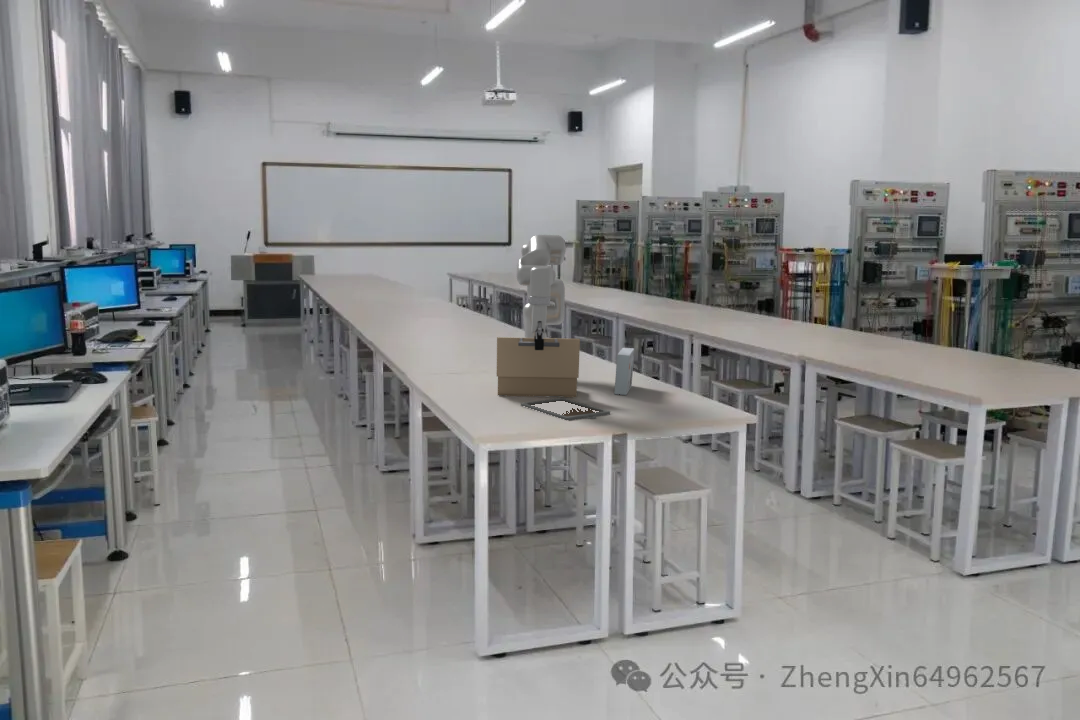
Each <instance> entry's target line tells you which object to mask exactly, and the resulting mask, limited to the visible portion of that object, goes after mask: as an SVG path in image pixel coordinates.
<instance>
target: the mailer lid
mask: <svg viewBox="0 0 1080 720" xmlns="http://www.w3.org/2000/svg"><path fill="white" fill-rule="evenodd" d="M543 339H544V350H535V342H534V338H525V337H515V336H514V337H511V336H510V337H507V336H506V337H504V336H502V337H501V336H498V337H496V377H498V376H499V377H556V378H577V379H579V376H580V374H579V373H580V372H579V371H580V349H581V347H580V346H581V345H580V344H581V338H567V337H566V338H563V337H562V338H561V337H560V338H559V337H552V338H551V337H547V338H543Z"/></svg>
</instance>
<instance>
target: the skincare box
mask: <svg viewBox="0 0 1080 720" xmlns="http://www.w3.org/2000/svg"><path fill="white" fill-rule="evenodd" d="M634 360H635V348H633V347H631V348H630V347H622V348H621V349H620V350H619V352H618V353H617V355H616V364H615V365H616V366H615V367H616V368H615V380H614V381H615V382H614V390H613V394H614V395H619V394H620V395H622V396H627V394H628V393H629V391H630V390H631V388H632V386H633V373H634Z"/></svg>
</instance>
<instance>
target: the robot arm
mask: <svg viewBox="0 0 1080 720" xmlns="http://www.w3.org/2000/svg"><path fill="white" fill-rule="evenodd" d="M566 248H567V247H566V242H565V239H564V237H563V236H562V235H558V234H536V235H534V236H532V237H531V238H530V239H529V241H528V243H525V244H523V245H522V247H521V257H520V258H519V260H517V261H518V262H517V265H516V281H517V283H518V284H519V285H521V286H526V292H527V293H526V295H527V298H528V300H529V302H527V303H526V304H525V305H524V307H523V309H522V310H523V311H522V315H523V323H524V324H523V325H524V338H534V342H535V350H544V339H543V338H548V336H547V332H546V327H547V325H548V326H552V325H554V326H559V325H561V324H562V323H563V322H564V319H565V299H566V298H565V297H566V295H565V293H566V292H565V290H566V288H565V284H564V281H563V280H562V279H559V278H556V276H557V275H556V271H555V269H554V268H553V267H552V266H559V265H561V264H563V262H564V260H565V254H566Z"/></svg>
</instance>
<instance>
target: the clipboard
mask: <svg viewBox="0 0 1080 720" xmlns="http://www.w3.org/2000/svg"><path fill="white" fill-rule="evenodd" d="M556 401H565V402H568V403H571V404H575V405H578V406H581V407H585V408H588V411H586V410H585V412H583V411H581V409H580V410H579V409H578V408H577V410H578V411H579V412H577V411H576V410H575V409H573V408H572V410H573V412H572V410H570V413H569V412H568V411H566V414H564V413H563V414H564V415H563V414H562V415H560V414H557V413H554V412H551V411H547V410H544V409H541V408H538V407H535V406H531V405H535V404H542V403H549V402H556ZM523 406H525V407H524V408H526V407H528V408H527V409H529V408H531V409H530V410H532V409H534V410H533V411H535V410H537V411H536V412H538V411H540V412H539V413H541V412H543V413H542V414H545V413H546V414H545V415H548V414H549V415H548V416H551V415H552V416H551V417H554V416H555V417H554V418H557V417H558V418H557V419H560V418H561V420H563V419H564V421H567V420H569V421H575V419H576V420H582V419H583V420H584V419H587V420H595V419H597V417H600V416H601V415H602V416H607V414H609V415H611V411H610V410H607V409H603V408H599V407H597V406H592V405H589V404H586V403H582V402H579V401H575V400H571V399H568V398H566V397H556V398H549V399H542V400H536V401H526V402H520V407H523ZM590 409H591V410H590ZM592 410H595V411H599V412H596V413H595V412H593V411H592ZM567 412H568V413H569V414H568V413H567Z"/></svg>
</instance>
